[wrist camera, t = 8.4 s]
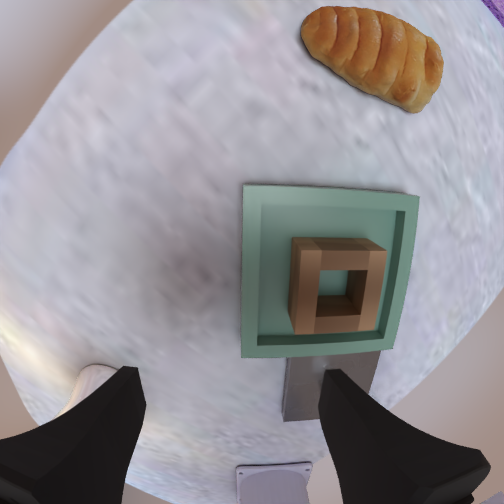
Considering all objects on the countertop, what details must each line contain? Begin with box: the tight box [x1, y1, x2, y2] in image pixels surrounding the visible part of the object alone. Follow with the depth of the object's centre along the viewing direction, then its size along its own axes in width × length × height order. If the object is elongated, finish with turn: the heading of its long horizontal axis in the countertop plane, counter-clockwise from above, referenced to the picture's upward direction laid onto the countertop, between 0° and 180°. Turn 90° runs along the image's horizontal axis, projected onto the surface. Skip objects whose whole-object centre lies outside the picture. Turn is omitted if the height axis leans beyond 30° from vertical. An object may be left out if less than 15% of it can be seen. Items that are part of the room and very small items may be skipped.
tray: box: [241, 184, 420, 358], centre depth 19 cm, size 11×11×2 cm
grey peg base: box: [282, 350, 381, 422], centre depth 21 cm, size 7×7×4 cm
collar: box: [287, 237, 387, 335], centre depth 18 cm, size 5×5×3 cm
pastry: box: [301, 6, 444, 113], centre depth 15 cm, size 9×7×4 cm
